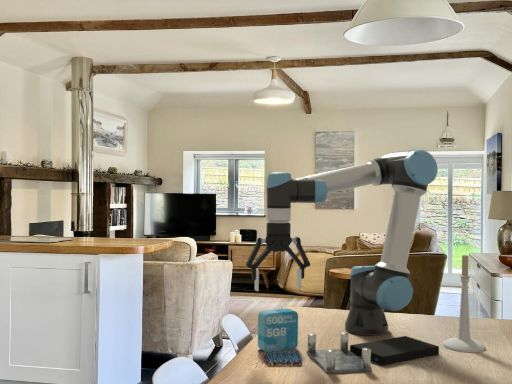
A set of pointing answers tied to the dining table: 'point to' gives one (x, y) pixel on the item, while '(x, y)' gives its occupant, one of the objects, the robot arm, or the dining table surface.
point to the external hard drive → (396, 350)
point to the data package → (277, 330)
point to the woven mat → (282, 358)
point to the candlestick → (464, 319)
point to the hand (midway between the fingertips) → (277, 289)
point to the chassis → (339, 357)
